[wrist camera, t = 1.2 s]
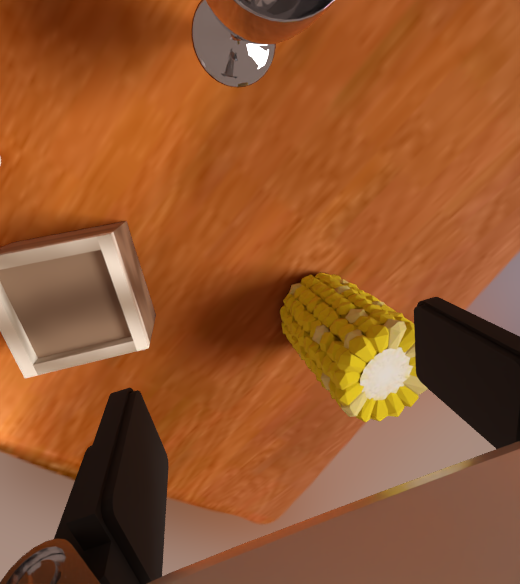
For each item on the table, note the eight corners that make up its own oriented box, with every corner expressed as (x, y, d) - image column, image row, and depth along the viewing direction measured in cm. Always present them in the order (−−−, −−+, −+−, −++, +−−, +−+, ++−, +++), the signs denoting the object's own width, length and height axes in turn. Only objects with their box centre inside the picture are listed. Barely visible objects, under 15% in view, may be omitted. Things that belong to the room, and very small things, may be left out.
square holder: (12, 242, 29) (-36, 262, 23) (126, 221, 31) (110, 233, 24) (56, 338, 33) (24, 378, 27) (155, 315, 34) (148, 348, 28)
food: (291, 258, 37) (358, 288, 41) (254, 354, 37) (324, 375, 41) (384, 269, 23) (474, 313, 27) (324, 424, 23) (421, 446, 27)
